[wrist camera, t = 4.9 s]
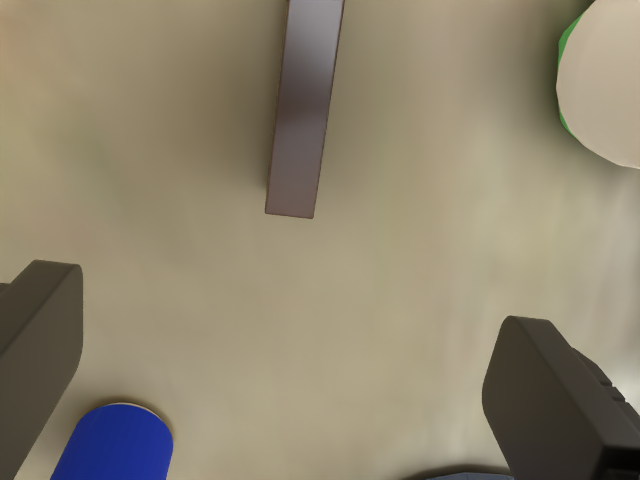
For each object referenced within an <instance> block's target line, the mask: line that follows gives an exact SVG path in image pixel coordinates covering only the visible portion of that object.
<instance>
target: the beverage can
mask: <svg viewBox="0 0 640 480" xmlns="http://www.w3.org/2000/svg"><path fill="white" fill-rule="evenodd" d="M172 452H173V440H172V436H171V433H170V431H169V429H168V428H167V426H166V425H165V424H164V422H163V421H162V420H161V419H160V418H159V417H158V416H157V415H156V414H155V413H154V412H152V411H151V410H149V409H147V408H145V407H143V406H140V405H136V404H132V403H113V404H108V405H105V406H102V407H98V408H96V409H94V410H92V411H90V412H89V413H87V414H86V415H84V416H83V417H82V418H81V419H80V421H79V422H78V423H77V425H76V427H75V429H74V431H73V433H72V435H71V437H70V439H69V441H68V443H67V445H66V447H65V449H64V452H63V454H62V456H61V458H60V460H59V462H58V464H57V466H56V468H55V470H54V472H53V474H52V476H51V478H50V480H166V476H167V472H168V468H169V464H170V460H171V456H172Z"/></svg>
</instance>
